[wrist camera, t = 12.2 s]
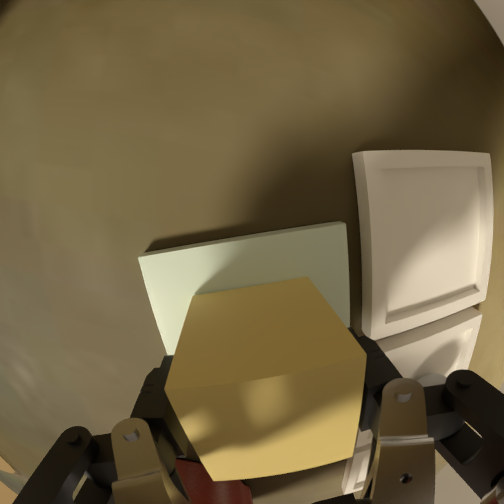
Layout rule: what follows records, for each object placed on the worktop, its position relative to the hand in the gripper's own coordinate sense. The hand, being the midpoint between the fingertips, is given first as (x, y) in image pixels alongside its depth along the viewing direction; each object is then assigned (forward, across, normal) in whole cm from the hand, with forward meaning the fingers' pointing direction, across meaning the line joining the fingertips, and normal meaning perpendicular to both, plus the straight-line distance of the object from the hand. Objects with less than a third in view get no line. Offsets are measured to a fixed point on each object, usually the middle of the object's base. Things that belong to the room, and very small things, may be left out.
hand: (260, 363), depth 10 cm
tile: (+3, 0, 0) cm, 3 cm away
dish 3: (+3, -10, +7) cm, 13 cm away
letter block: (+2, 0, 0) cm, 2 cm away
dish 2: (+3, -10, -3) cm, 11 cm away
